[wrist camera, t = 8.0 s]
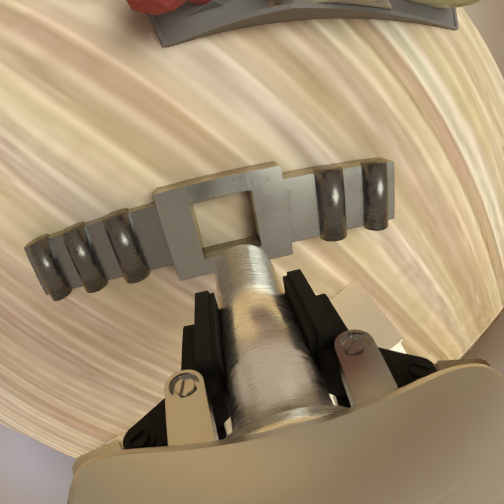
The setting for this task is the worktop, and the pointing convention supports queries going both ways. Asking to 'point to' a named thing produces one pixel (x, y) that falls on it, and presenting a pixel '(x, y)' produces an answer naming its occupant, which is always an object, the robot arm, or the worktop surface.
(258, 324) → the pin
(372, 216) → the knobbed grey strip
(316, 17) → the hand plane
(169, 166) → the worktop surface
